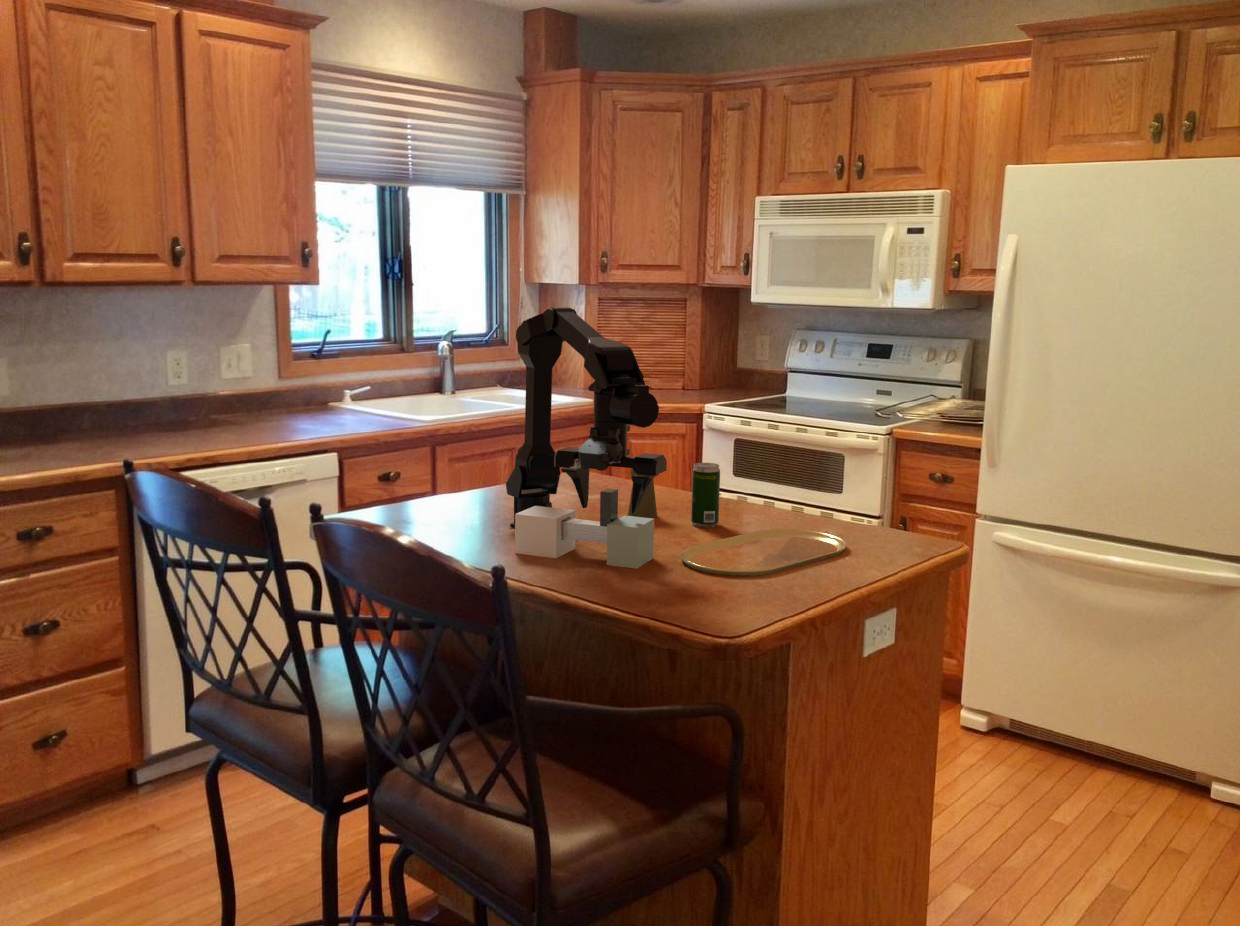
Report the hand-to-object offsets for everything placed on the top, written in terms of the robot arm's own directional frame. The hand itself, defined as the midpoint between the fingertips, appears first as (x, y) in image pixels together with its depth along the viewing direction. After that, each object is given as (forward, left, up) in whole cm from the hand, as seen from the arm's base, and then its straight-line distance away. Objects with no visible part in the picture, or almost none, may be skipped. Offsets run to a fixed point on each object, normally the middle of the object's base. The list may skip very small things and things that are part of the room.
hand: (609, 510), depth 185 cm
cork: (-7, +34, -9) cm, 36 cm away
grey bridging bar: (-2, 0, -5) cm, 6 cm away
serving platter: (+24, +15, -9) cm, 29 cm away
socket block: (+4, 0, -8) cm, 9 cm away
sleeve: (-12, 0, -8) cm, 15 cm away
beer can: (+7, +32, -9) cm, 34 cm away
